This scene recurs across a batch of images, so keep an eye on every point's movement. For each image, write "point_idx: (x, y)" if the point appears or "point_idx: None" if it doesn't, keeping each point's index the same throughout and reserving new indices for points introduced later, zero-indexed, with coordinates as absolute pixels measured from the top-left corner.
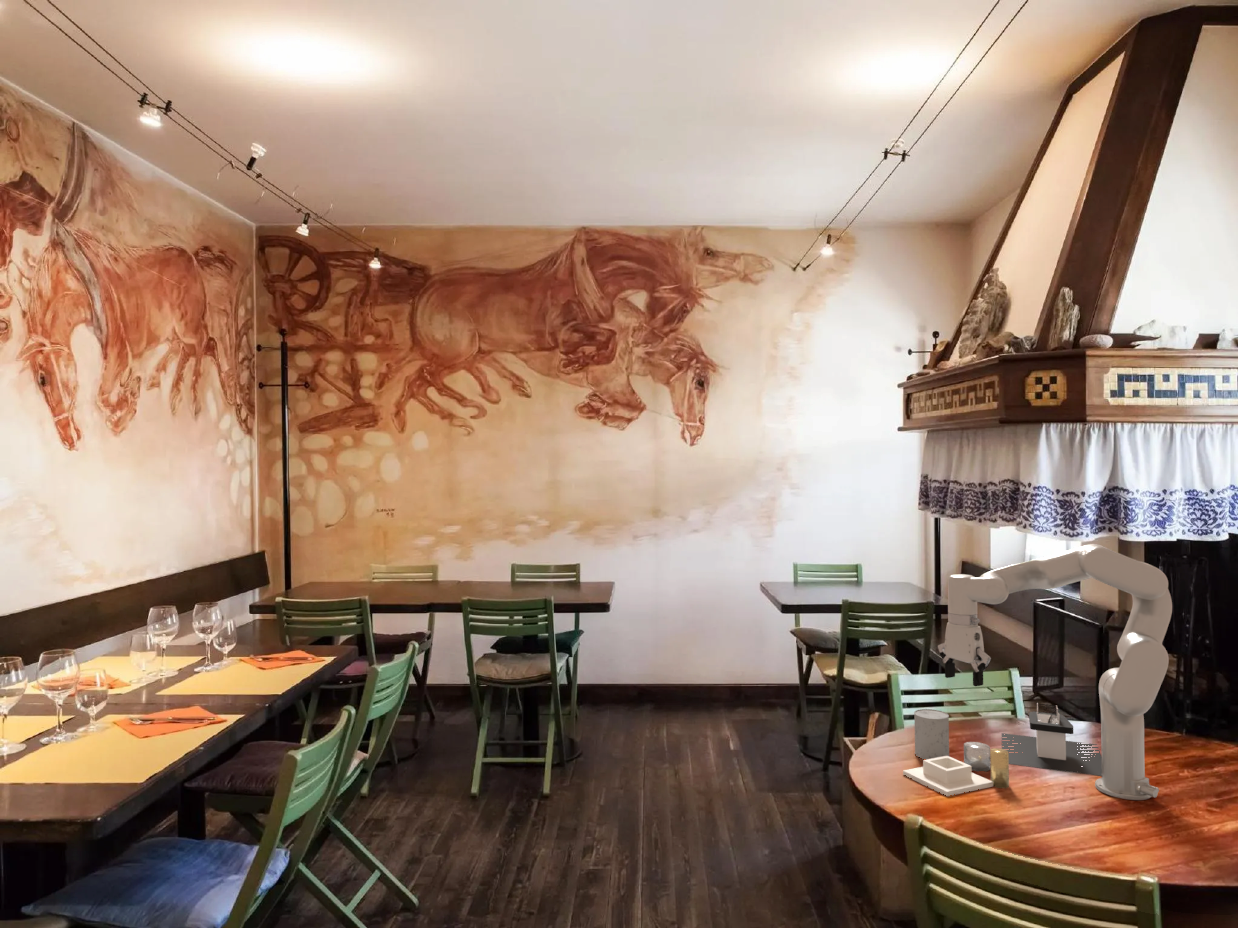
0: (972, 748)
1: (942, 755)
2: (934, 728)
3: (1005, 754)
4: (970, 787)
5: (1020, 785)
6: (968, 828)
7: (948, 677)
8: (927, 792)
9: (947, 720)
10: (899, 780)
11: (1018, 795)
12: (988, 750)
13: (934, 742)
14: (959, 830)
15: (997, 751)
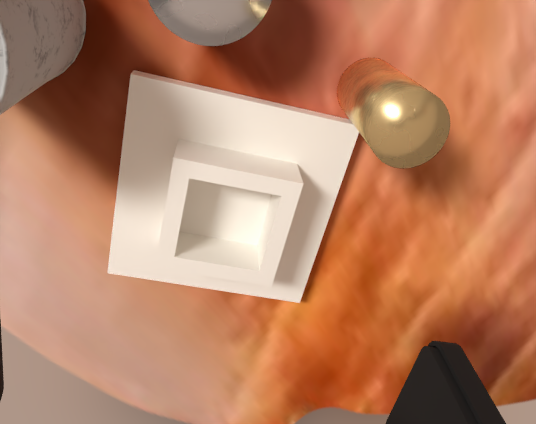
0: (217, 34)
1: (76, 38)
2: (12, 103)
3: (442, 141)
4: (326, 220)
5: (425, 31)
6: None
7: (1, 378)
8: (246, 311)
9: (5, 12)
10: (139, 304)
11: None
12: None
13: (40, 84)
14: None
15: (404, 140)
